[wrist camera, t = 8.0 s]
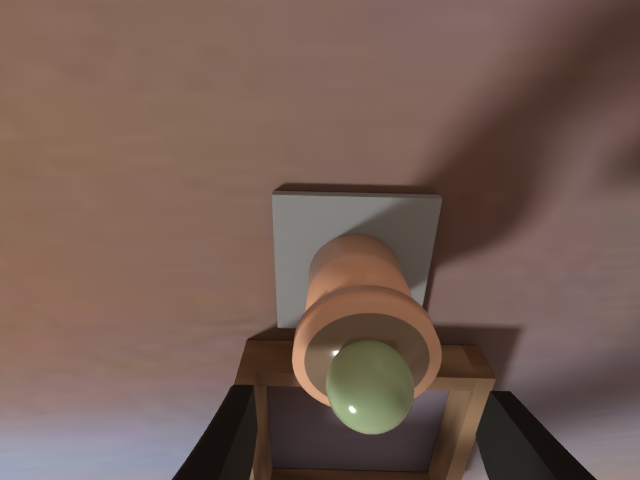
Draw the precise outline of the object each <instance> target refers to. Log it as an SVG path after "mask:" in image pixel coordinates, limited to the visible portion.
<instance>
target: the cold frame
mask: <svg viewBox="0 0 640 480" xmlns="http://www.w3.org/2000/svg"><path fill="white" fill-rule="evenodd" d="M293 346H294V341H280V340H247V341H246V345H245V348H244V352H243V355H242V359H241V362H240V366H239V369H238V372H237V376H236V379H235V383H234V385H254V392H255V402H256V413H257V424H258V432H257V439H256V447H255V454H254V461H253V467H252V471H251V475H250V480H461V479H462V476H463V473H464V470H465V467H466V465H467V462H468V459H469V456H470V453H471V450H472V447H473V444H474V441H475V438H476V435H475V434H476V431H477V428H478V425H479V422H480V419H481V416H482V413H483V410H484V407H485V404H486V401H487V398H488V395H489V392H490V391H492V389H493V386H494V383H495V380H496V378H495V376H494V374H493V372H492V370H491V369H490V367H489V365H488V363H487V361H486V359H485V358H484V356H483V354H482V352H481V350H480V348H479V346H476V345H441V349H442V359H441V365H440V368H439V371H438V373H437V375H436V377H435V379H434V380H433V382H432V383H431V384H430V385H429V387H428V388H427V389H426V390H445V391H449V394H448V398H447V401H446V405H445V409H444V413H443V416H442V420H441V424H440V428H439V431H438V435H437V439H436V443H435V446H434V450H433V454H432V458H431V461H430V465H429V469H428V473H423V472H387V471H350V470H314V469H277V468H272V455H271V441H270V427H269V413H268V398H267V386H293V387H302V386H301V385H300V383H299V382H298V380H297V378H296V376H295V373H294V370H293V364H292V354H293Z"/></svg>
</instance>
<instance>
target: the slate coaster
mask: <svg viewBox="0 0 640 480" xmlns="http://www.w3.org/2000/svg"><path fill="white" fill-rule="evenodd" d="M442 200H443V199H442V198H441V196H440V195H437V194H394V193H352V192H309V191H273V193H272V211H273V233H274V255H275V277H276V300H277V322H278V328H297V325H298V323H299V321H300V319H301V317H302V316H303V314H304V313H305V312H306V300H307V288H308V276H309V267H310V264H311V261H312V259H313V257H314V255H315V254H316V253H317V251H318V250H319V249H320V248H321V247H322V246H323V245H325V244H326V243H327V242H329V241H331V240H332V239H335V238H337V237H340V236H344V235H349V234H364V235H369V236H372V237H375V238H377V239H379V240H381V241H383V242H384V243H386V244H387V245H388V246H389V247H390V248H391V249H392V250H393V251H394V252H395V254H396V256H397V258H398V260H399V263H400V265H401V268H402V271H403V273H404V276H405V279H406V281H407V284H408V287H409V289H410V292H411V295H412V297H413V299H414V300H415V301H416V302H418V303H419V304H420V305H421V306H423V301H424V296H425V290H426V285H427V280H428V274H429V269H430V264H431V258H432V253H433V248H434V242H435V237H436V232H437V226H438V221H439V216H440V210H441V205H442Z"/></svg>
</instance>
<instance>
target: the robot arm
mask: <svg viewBox="0 0 640 480" xmlns="http://www.w3.org/2000/svg"><path fill="white" fill-rule="evenodd" d="M257 432H258V424H257V413H256V402H255V392H254V385H233V386H231V388H230V389H229V391H228V393H227V395H226V397H225V399H224V401H223V402H222V404H221V406H220V408H219V409H218V411H217V413H216V414H215V416H214V418H213V419H212V421H211V423H210V424H209V426H208V428H207V429H206V431H205V432H204V434H203V435H202V437H201V438H200V440H199V441H198V443H197V444H196V446H195V447H194V449H193V451H192V452H191V454H190V455H189V456H188V458H187V459H186V461H185V462H184V464H183V465H182V466H181V468H180V469H179V470H178V472H177V473H176V475H175V476H174V477H173V479H172V480H250V475H251V471H252V467H253V461H254V454H255V447H256V439H257ZM475 435H476V439H477V443H478V446H479V450H480V453H481V457H482V460H483V463H484V467H485V470H486V473H487V475H488V478H489V480H597V479H596V478H595V477H594V476H592V475H591V474H590V473H589V472H588V471H587V470H586V469H585V468H584V467H583V466H582V465H581V464H580V463H579V462H578V461H577V460H576V459H575V458H574V457H573V456H572V455H571V454H570V453H569V452H568V451H567V450H566V449H565V448H564V447H563V446H562V445H561V444H560V443H559V442H558V441H557V440H556V439H555V438H554V437H553V436H552V435H551V434H550V432H549V431H548V430H547V429H546V428H545V427H544V426H543V425H542V424H541V423H540V422H539V421H538V420H537V419H536V418H535V417H534V416H533V415H532V414H531V413H530V412H529V411H528V409H527V408H526V407H525V406H524V405H523V404H522V403H521V402H520V401H519V400H518V399H517V398H516V397H515V396H514V395H513V394H512V393H511V392H510V391H490V392H489V395H488V398H487V401H486V404H485V407H484V410H483V413H482V416H481V419H480V422H479V425H478V428H477V431H476V434H475Z"/></svg>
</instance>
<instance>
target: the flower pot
mask: <svg viewBox="0 0 640 480" xmlns="http://www.w3.org/2000/svg"><path fill="white" fill-rule="evenodd" d="M441 359H442V349H441V345H440V341H439V339H438V336H437V334H436V331H435V329H434V327H433V324H432V322H431V320H430V317H429V315H428V314H427V312H426V311H425V310H424V308H423V307H422V306H421V305H420V304H419V303H418V302H416V301H415V300H414V299H413V297H412V295H411V292H410V289H409V287H408V284H407V281H406V279H405V276H404V273H403V271H402V268H401V265H400V263H399V260H398V258H397V256H396V254H395V252H394V251H393V250H392V249H391V248H390V247H389V246H388V245H387V244H386V243H384V242H383V241H381V240H379V239H377V238H375V237H372V236H369V235H364V234H349V235H344V236H340V237H337V238H335V239H332V240H331V241H329V242H327V243H326V244H325V245H323V246H322V247H321V248H320V249H319V250H318V251H317V253H316V254H315V255H314V257H313V259H312V261H311V264H310V267H309V276H308V288H307V300H306V312H305V313H304V314H303V316H302V317H301V319H300V321H299V323H298V325H297V328H296V332H295V337H294V346H293V354H292V364H293V370H294V373H295V376H296V378H297V380H298V382H299V383H300V385H301V386H302V387H303V388H304V390H305V391H306V392H307V393H308V394H310V395H311V396H312V397H313V398H315V399H316V400H318V401H320V402H321V403H324V404H326V405H328V406H330V407H331V408H332V410H333V411H334V413H335V414H336V416H337V417H338V418H339V419H340V420H341V421H342V422H343V423H344V424H345V425H346V426H348V427H349V428H351V429H353V430H355V431H357V432H360V433H363V434H381V433H385V432H388V431H390V430H392V429H394V428H395V427H397V426H398V425H399V424H400V423H401V422H402V421H403V420H404V419H405V418H406V416H407V415H408V413H409V411H410V409H411V406H412V403H413V399H414V398H416V397H417V396H419V395H420V394H421V393H422V392H423V391H425V390H426V389H427V388H428V387H429V385H430V384H431V383H432V382H433V380H434V379H435V377H436V375H437V373H438V371H439V368H440V365H441Z"/></svg>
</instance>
